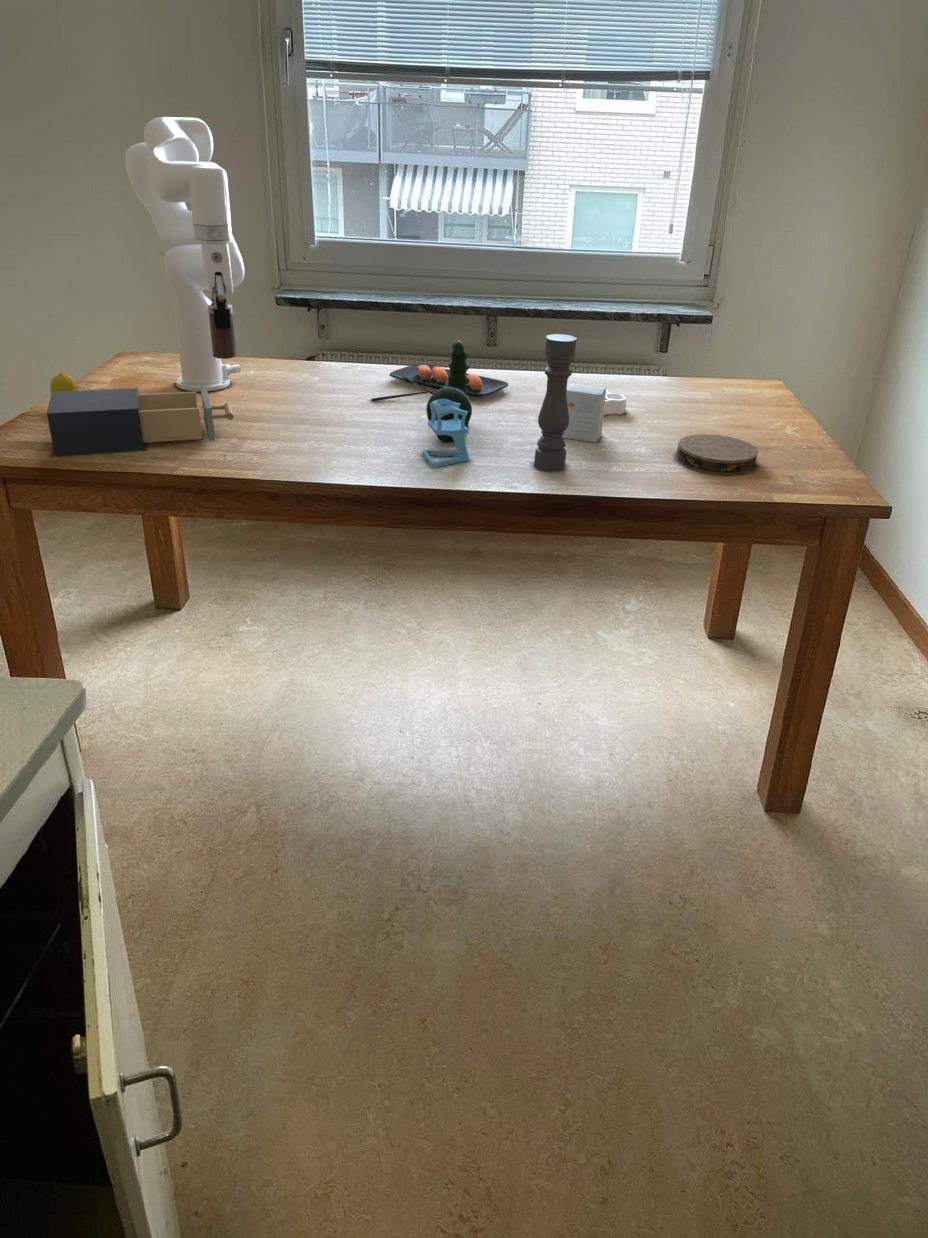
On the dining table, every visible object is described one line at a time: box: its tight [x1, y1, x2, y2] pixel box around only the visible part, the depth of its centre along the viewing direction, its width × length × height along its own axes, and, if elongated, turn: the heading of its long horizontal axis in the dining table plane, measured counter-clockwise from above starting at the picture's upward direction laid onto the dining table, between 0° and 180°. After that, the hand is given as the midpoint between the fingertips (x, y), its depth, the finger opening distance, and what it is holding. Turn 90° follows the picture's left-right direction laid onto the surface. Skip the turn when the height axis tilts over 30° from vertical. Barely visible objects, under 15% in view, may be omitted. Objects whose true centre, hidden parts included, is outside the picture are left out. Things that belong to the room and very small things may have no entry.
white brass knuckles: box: [603, 388, 627, 417], centre depth 212 cm, size 3×18×15 cm
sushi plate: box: [370, 363, 509, 402], centre depth 217 cm, size 29×30×4 cm
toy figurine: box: [426, 340, 473, 444], centre depth 189 cm, size 9×19×25 cm
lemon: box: [49, 372, 79, 394], centre depth 195 cm, size 6×6×8 cm
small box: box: [562, 383, 607, 443], centre depth 192 cm, size 8×6×10 cm
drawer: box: [138, 389, 235, 444], centre depth 183 cm, size 20×13×7 cm
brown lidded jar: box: [208, 303, 237, 360], centre depth 192 cm, size 5×5×10 cm
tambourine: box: [676, 433, 759, 476], centre depth 183 cm, size 16×16×3 cm
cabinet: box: [46, 387, 145, 457], centre depth 178 cm, size 16×14×8 cm
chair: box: [422, 399, 470, 468], centre depth 176 cm, size 8×8×12 cm
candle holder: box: [533, 333, 577, 472], centre depth 172 cm, size 6×6×25 cm
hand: (221, 324), depth 191 cm, fingers closed on brown lidded jar, 5 cm apart
